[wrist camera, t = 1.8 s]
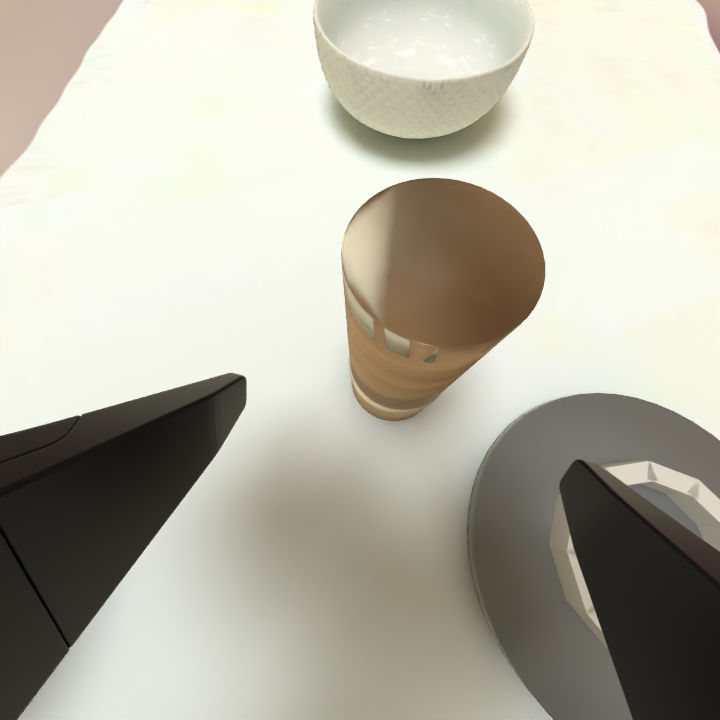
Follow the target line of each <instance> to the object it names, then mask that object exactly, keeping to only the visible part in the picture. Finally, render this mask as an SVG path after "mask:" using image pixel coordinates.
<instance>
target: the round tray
mask: <svg viewBox="0 0 720 720" xmlns="http://www.w3.org/2000/svg"><path fill="white" fill-rule="evenodd" d="M576 459H583V460H587V461H591V462H595V463H597V464H598V465H600V466H601V467H602V468H604V469H605V470H607V471H608V472H609V473H611V474H612V475H614V476H615V477H616V478H618V479H619V480H621V481H622V482H623V483H625V484H626V485H628V486H629V487H630V488H632V489H633V490H635V491H636V492H637V493H639V494H640V495H642V496H643V497H644V498H646V499H647V500H649V501H650V502H651V503H653V504H654V505H655V506H657V507H658V508H660V509H661V510H662V511H664V512H665V513H667V514H668V515H669V516H671V517H672V518H674V519H675V520H676V521H678V522H679V523H681V524H682V525H683V526H685V527H686V528H688V529H689V530H690V531H692V532H693V533H695V534H696V535H697V536H699V537H700V538H702V539H703V540H704V541H706V542H707V543H709V544H710V545H711V546H713V547H714V548H715V549H717V550H718V551H720V441H719V440H718V439H717V438H716V437H714V436H713V435H712V434H710V433H709V432H707V431H706V430H704V429H703V428H701V427H700V426H698V425H697V424H695V423H694V422H692V421H690V420H688V419H687V418H685V417H683V416H681V415H679V414H677V413H675V412H674V411H671V410H669V409H666V408H664V407H662V406H659V405H657V404H654V403H651V402H648V401H645V400H641V399H638V398H634V397H629V396H623V395H618V394H604V393H592V394H579V395H574V396H569V397H565V398H561V399H558V400H554V401H551V402H549V403H546V404H543V405H541V406H538V407H536V408H534V409H532V410H530V411H529V412H527V413H525V414H523V415H522V416H520V417H519V418H518V419H516V420H515V421H514V422H513V423H511V424H510V425H509V426H508V427H507V428H506V429H505V430H504V431H503V432H502V433H501V434H500V435H499V437H498V438H497V439H496V440H495V442H494V443H493V445H492V446H491V448H490V449H489V451H488V452H487V454H486V456H485V458H484V460H483V462H482V464H481V466H480V468H479V471H478V474H477V477H476V480H475V483H474V486H473V489H472V495H471V500H470V505H469V515H468V548H469V558H470V563H471V569H472V575H473V580H474V583H475V587H476V591H477V594H478V598H479V601H480V604H481V607H482V609H483V612H484V614H485V617H486V619H487V622H488V624H489V627H490V629H491V631H492V633H493V635H494V637H495V639H496V641H497V642H498V644H499V646H500V648H501V650H502V652H503V654H504V655H505V657H506V658H507V660H508V661H509V663H510V664H511V666H512V667H513V669H514V670H515V672H516V673H517V675H518V676H519V678H520V679H521V680H522V682H523V683H524V684H525V686H526V687H527V688H528V690H529V691H530V692H531V693H532V695H533V696H534V697H535V698H536V699H537V701H538V702H539V703H540V704H541V706H542V707H543V708H544V709H545V710H546V712H547V713H548V714H549V715H550V716H551V717H552V718H553V719H554V720H632V717H631V714H630V711H629V708H628V705H627V702H626V699H625V696H624V694H623V691H622V688H621V685H620V682H619V679H618V676H617V673H616V670H615V668H614V665H613V662H612V659H611V656H610V653H609V650H608V647H607V644H606V641H605V639H604V636H603V633H602V630H601V627H600V624H599V621H598V618H597V615H596V612H595V610H594V607H593V604H592V601H591V598H590V595H589V592H588V589H587V586H586V583H585V581H584V578H583V575H582V572H581V569H580V566H579V563H578V560H577V557H576V554H575V551H574V548H573V544H572V540H571V536H570V532H569V528H568V524H567V519H566V515H565V511H564V507H563V503H562V499H561V494H560V490H559V484H560V480H561V478H562V477H563V476H564V474H565V473H566V471H567V470H568V468H569V467H570V465H571V464H572V462H573V461H574V460H576Z"/></svg>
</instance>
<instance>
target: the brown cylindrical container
mask: <svg viewBox="0 0 720 720" xmlns="http://www.w3.org/2000/svg"><path fill="white" fill-rule="evenodd" d="M341 257H342V270H343V282H344V295H345V307H346V319H347V331H348V343H349V355H350V356H349V365H350V375H351V379H352V387H353V392H354V394H355V397H356V399H357V400H358V402H359V403H360V405H361V406H362V407H363V408H364V409H365V410H366V411H367V412H369V413H370V414H372V415H373V416H375V417H377V418H380V419H384V420H390V421H397V420H403V419H407V418H409V417H412V416H413V415H415V414H417V413H418V412H419V411H420V410H422V409H423V408H425V407H426V406H427V405H429V404H430V403H431V402H432V401H434V400H435V399H436V398H437V397H438V396H439V395H440V394H441V392H443V391H444V390H445V389H446V388H447V387H448V386H449V385H451V384H452V383H453V382H454V381H455V380H456V379H458V378H459V377H460V376H461V375H462V374H463V373H465V372H466V371H467V370H468V369H469V368H470V367H471V366H473V365H474V364H475V363H476V362H477V361H478V360H480V359H481V358H482V357H483V356H484V355H485V354H487V353H488V352H489V351H490V350H491V349H492V348H493V347H495V346H496V345H497V344H498V343H499V342H500V341H502V340H503V339H504V338H505V337H506V336H507V335H509V334H510V333H511V332H512V331H513V330H514V329H515V328H517V327H518V326H519V325H520V324H521V323H522V322H523V321H524V320H525V319H526V318H527V317H528V316H529V315H530V313H531V312H532V311H533V309H534V308H535V306H536V304H537V302H538V300H539V298H540V296H541V293H542V290H543V287H544V280H545V261H544V255H543V251H542V248H541V245H540V242H539V240H538V238H537V236H536V234H535V232H534V231H533V229H532V228H531V226H530V225H529V223H528V222H527V221H526V219H525V218H524V217H523V216H522V215H521V214H520V213H519V212H518V211H517V210H516V209H515V208H514V207H513V206H512V205H510V204H509V203H508V202H506V201H505V200H504V199H502V198H501V197H499V196H497V195H495V194H494V193H492V192H490V191H488V190H486V189H484V188H481V187H479V186H476V185H473V184H470V183H466V182H462V181H458V180H452V179H443V178H425V179H416V180H410V181H406V182H402V183H399V184H396V185H393V186H391V187H388V188H386V189H385V190H383V191H381V192H379V193H377V194H376V195H374V196H373V197H372V198H370V199H369V200H368V201H367V202H366V203H364V204H363V205H362V206H361V207H360V209H359V210H358V211H357V212H356V213H355V215H354V216H353V218H352V219H351V221H350V223H349V225H348V227H347V229H346V232H345V235H344V239H343V243H342V252H341Z"/></svg>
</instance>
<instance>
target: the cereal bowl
mask: <svg viewBox="0 0 720 720" xmlns="http://www.w3.org/2000/svg"><path fill="white" fill-rule="evenodd" d="M313 22H314V27H315V38H316V41H317V50H318V55H319V60H320V62H321V66H322V70H323V72H324V75H325V78H326V80H327V82H328V85H329V88H330V89H331V90H332V92H333V95H334V96H335V97H336V98H337V100H338V101H339V102H340V103H341V104H342V106H343V108H345V109H346V110H347V111H348V113H349V114H351V115H352V116H353V117H354V118H355V119H357V120H358V121H359V122H361V123H363V124H365V125H366V126H368V127H370V128H372V129H374V130H376V131H379V132H382V133H385V134H389V135H391V136H396V137H401V138H409V139H411V138H418V139H422V138H423V139H425V138H431V137H433V138H435V137H438V136H443V135H449V134H451V133H453V132H457V131H458V130H460V129H463V128H466V127H467V126H468V125H471V124H473V123H474V122H475V121H477V120H479V119H480V118H481V117H482V116H483V115H485V114H486V113H487V112H488V111H489V110H490V109H492V108H493V107H494V105H495V104H496V103H497V102H498V101H499V99H500V98H501V97H502V95H503V94H504V93H505V92H506V90H507V88H508V87H509V85H510V84H511V82H512V80H513V79H514V77H515V75H516V73H517V72H518V70H519V67H520V65H521V63H522V61H523V59H524V57H525V54H526V52H527V50H528V48H529V45H530V42H531V39H532V36H533V31H534V17H533V13H532V10H531V8H530V5H529V3H528V2H527V0H316V1H315V5H314V16H313Z"/></svg>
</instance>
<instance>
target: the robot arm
mask: <svg viewBox="0 0 720 720" xmlns="http://www.w3.org/2000/svg"><path fill="white" fill-rule="evenodd" d="M245 405H246V378H245V377H244V376H243V375H239V374H235V373H228V374H224V375H221V376H217V377H214V378H210V379H206V380H203V381H199V382H196V383H192V384H189V385H185V386H181V387H178V388H174V389H171V390H167V391H164V392H160V393H156V394H153V395H149V396H146V397H142V398H139V399H135V400H131V401H128V402H124V403H121V404H117V405H114V406H110V407H106V408H103V409H99V410H96V411H92V412H89V413H85V414H82V415H81V416H74V417H70V418H67V419H63V420H60V421H56V422H52V423H49V424H45V425H41V426H37V427H34V428H30V429H26V430H23V431H18V432H14V433H10V434H6V435H2V436H0V720H17V719H18V718H19V716H20V715H21V714H22V712H23V711H24V710H25V708H26V707H27V706H28V704H29V703H30V702H31V700H32V699H33V698H34V696H35V695H36V694H37V692H38V691H39V690H40V688H41V687H42V686H43V684H44V683H45V682H46V680H47V679H48V678H49V676H50V675H51V674H52V673H53V671H54V670H55V669H56V667H57V666H58V665H59V663H60V662H61V661H62V659H63V658H64V657H65V655H66V654H67V653H68V651H69V647H71V646H72V645H73V644H74V643H75V642H76V640H77V639H78V638H79V636H80V635H81V634H82V632H83V631H84V630H85V628H86V627H87V626H88V624H89V623H90V622H91V620H92V619H93V618H94V616H95V615H96V614H97V612H98V611H99V610H100V608H101V607H102V606H103V604H104V603H105V602H106V600H107V599H108V598H109V596H110V595H111V594H112V592H113V591H114V590H115V588H116V587H117V586H118V584H119V583H120V582H121V580H122V579H123V578H124V577H125V575H126V574H127V573H128V571H129V570H130V569H131V567H132V566H133V565H134V563H135V562H136V561H137V559H138V558H139V557H140V555H141V554H142V553H143V551H144V550H145V549H146V547H147V546H148V545H149V543H150V542H151V541H152V539H153V538H154V537H155V535H156V534H157V533H158V531H159V530H160V529H161V527H162V526H163V525H164V523H165V522H166V521H167V519H168V518H169V517H170V515H171V514H172V513H173V512H174V510H175V509H176V508H177V506H178V505H179V504H180V502H181V501H182V500H183V498H184V497H185V496H186V494H187V493H188V492H189V490H190V489H191V488H192V486H193V485H194V484H195V482H196V481H197V480H198V478H199V477H200V476H201V474H202V473H203V472H204V470H205V469H206V468H207V466H208V465H209V464H210V462H211V461H212V460H213V458H214V457H215V456H216V454H217V453H218V451H219V450H220V448H221V446H222V445H223V443H224V441H225V440H226V438H227V436H228V435H229V433H230V431H231V430H232V428H233V426H234V425H235V423H236V421H237V420H238V418H239V416H240V415H241V413H242V411H243V409H244V407H245ZM559 490H560V494H561V499H562V503H563V507H564V511H565V515H566V519H567V524H568V528H569V532H570V536H571V540H572V544H573V548H574V551H575V554H576V557H577V560H578V563H579V566H580V569H581V572H582V575H583V578H584V581H585V583H586V586H587V589H588V592H589V595H590V598H591V601H592V604H593V607H594V610H595V612H596V615H597V618H598V621H599V624H600V627H601V630H602V633H603V636H604V639H605V641H606V644H607V647H608V650H609V653H610V656H611V659H612V662H613V665H614V668H615V670H616V673H617V676H618V679H619V682H620V685H621V688H622V691H623V694H624V696H625V699H626V702H627V705H628V708H629V711H630V714H631V717H632V720H720V551H718V550H717V549H715V548H714V547H713V546H711V545H710V544H709V543H707V542H706V541H704V540H703V539H702V538H700V537H699V536H697V535H696V534H695V533H693V532H692V531H690V530H689V529H688V528H686V527H685V526H683V525H682V524H681V523H679V522H678V521H676V520H675V519H674V518H672V517H671V516H669V515H668V514H667V513H665V512H664V511H662V510H661V509H660V508H658V507H657V506H655V505H654V504H653V503H651V502H650V501H649V500H647V499H646V498H644V497H643V496H642V495H640V494H639V493H637V492H636V491H635V490H633V489H632V488H630V487H629V486H628V485H626V484H625V483H623V482H622V481H621V480H619V479H618V478H616V477H615V476H614V475H612V474H611V473H609V472H608V471H607V470H605V469H604V468H602V467H601V466H600V465H598V464H597V463H595V462H591V461H587V460H583V459H576V460H574V461H573V462H572V464H571V465H570V467H569V468H568V470H567V471H566V473H565V474H564V476H563V477H562V478H561V480H560V484H559Z"/></svg>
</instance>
